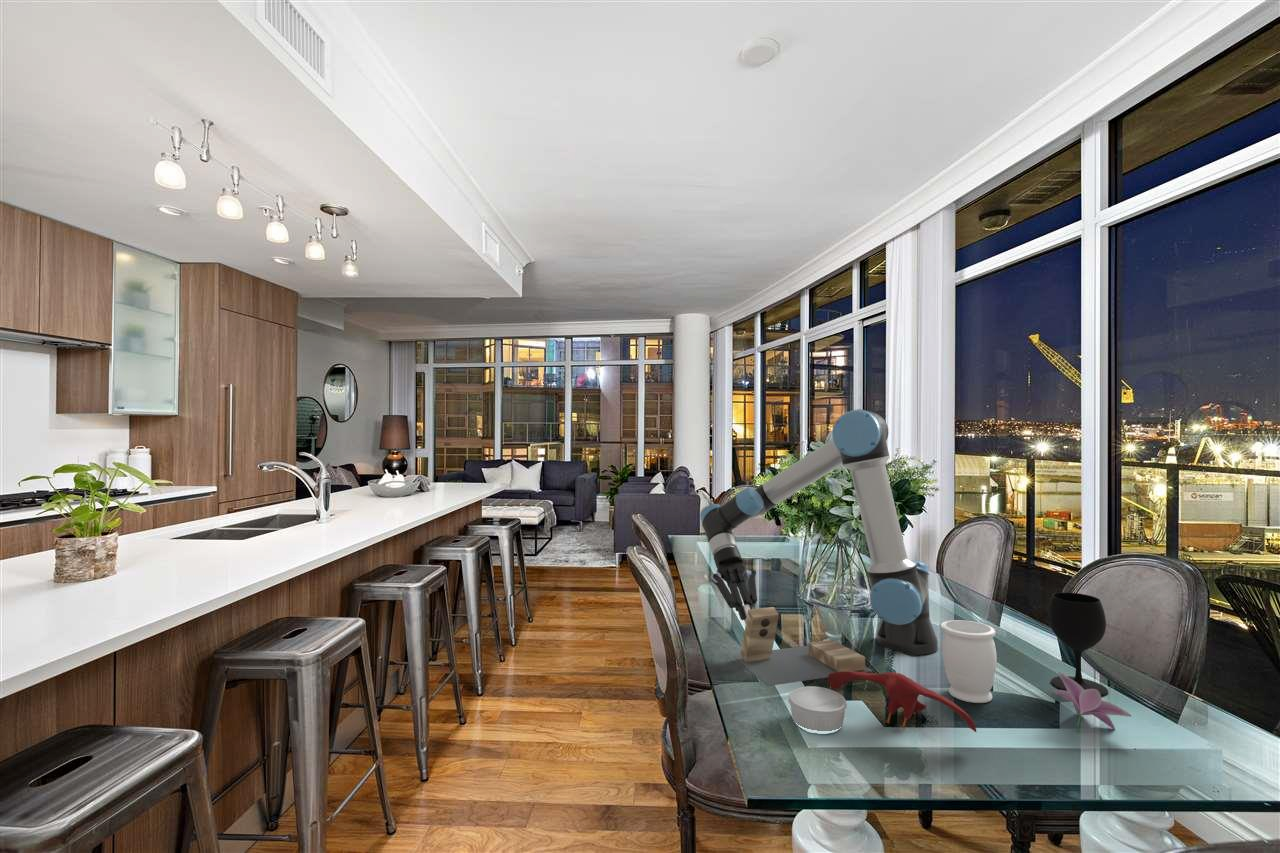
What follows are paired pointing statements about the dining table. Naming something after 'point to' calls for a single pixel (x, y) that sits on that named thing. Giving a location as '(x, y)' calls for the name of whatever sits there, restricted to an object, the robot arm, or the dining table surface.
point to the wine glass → (1077, 630)
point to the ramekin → (817, 708)
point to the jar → (969, 659)
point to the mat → (789, 666)
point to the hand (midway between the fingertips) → (752, 630)
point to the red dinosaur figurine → (898, 692)
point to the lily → (1088, 702)
